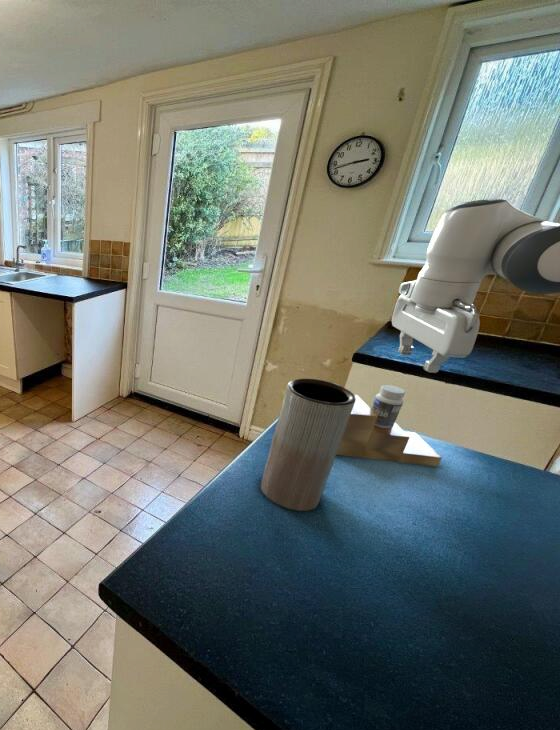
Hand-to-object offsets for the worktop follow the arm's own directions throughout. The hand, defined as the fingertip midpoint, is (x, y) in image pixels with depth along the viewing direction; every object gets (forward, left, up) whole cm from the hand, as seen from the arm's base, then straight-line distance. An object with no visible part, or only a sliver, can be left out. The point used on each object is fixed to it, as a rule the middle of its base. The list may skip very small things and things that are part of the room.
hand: (416, 362), depth 83 cm
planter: (+24, +21, -22) cm, 38 cm away
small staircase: (+2, 0, -22) cm, 22 cm away
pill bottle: (+2, 0, -15) cm, 15 cm away
